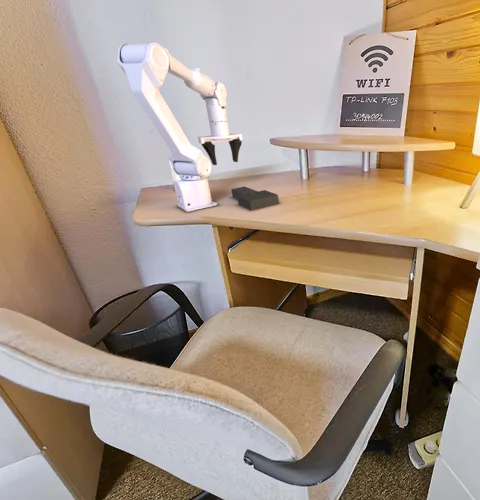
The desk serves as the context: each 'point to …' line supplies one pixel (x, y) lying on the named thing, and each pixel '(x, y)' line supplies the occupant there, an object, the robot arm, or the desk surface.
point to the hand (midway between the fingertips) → (225, 163)
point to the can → (174, 175)
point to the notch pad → (258, 200)
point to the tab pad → (242, 191)
